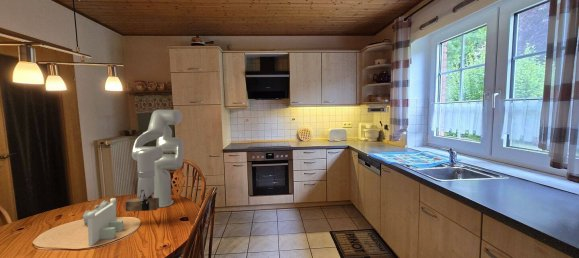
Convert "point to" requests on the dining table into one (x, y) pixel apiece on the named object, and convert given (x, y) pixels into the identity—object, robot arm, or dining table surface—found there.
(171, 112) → the robot arm
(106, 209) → the pale grey legged piece
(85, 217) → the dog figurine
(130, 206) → the rail
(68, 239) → the dining table surface
